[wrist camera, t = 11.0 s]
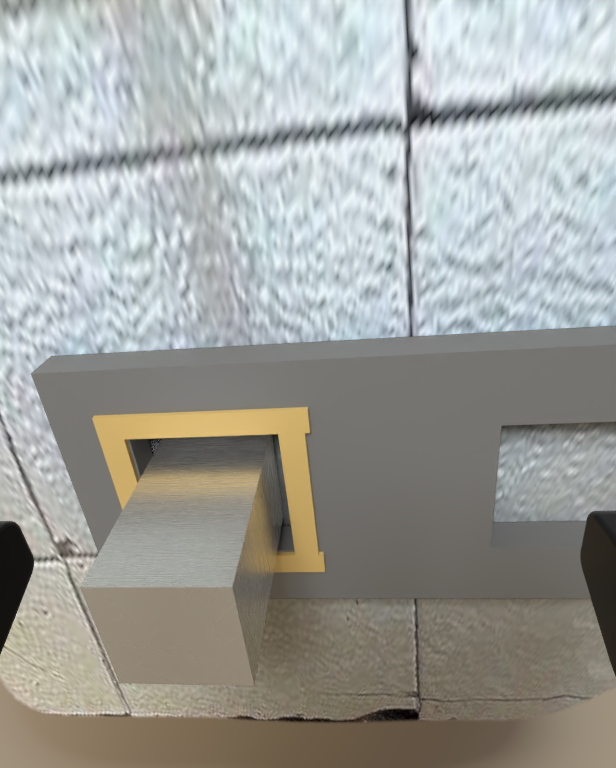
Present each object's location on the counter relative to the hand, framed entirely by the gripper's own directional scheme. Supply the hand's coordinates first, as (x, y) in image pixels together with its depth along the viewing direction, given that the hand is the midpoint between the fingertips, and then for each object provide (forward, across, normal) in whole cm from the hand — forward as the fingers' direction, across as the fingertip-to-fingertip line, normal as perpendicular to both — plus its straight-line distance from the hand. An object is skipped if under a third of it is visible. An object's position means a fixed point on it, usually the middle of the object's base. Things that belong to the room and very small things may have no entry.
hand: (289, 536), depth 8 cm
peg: (+12, +5, +8) cm, 15 cm away
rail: (+12, -2, +8) cm, 15 cm away
